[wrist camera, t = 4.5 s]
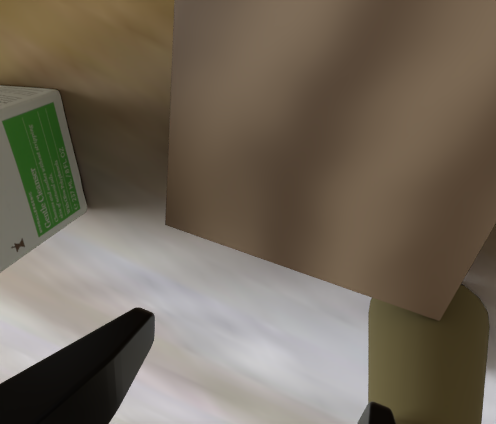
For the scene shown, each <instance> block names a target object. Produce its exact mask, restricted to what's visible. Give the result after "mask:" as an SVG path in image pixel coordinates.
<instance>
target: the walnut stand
mask: <svg viewBox="0 0 496 424" xmlns="http://www.w3.org/2000/svg"><path fill="white" fill-rule="evenodd" d="M495 224H496V0H175V5H174V29H173V53H172V77H171V101H170V125H169V149H168V173H167V197H166V221H165V225H167V226H170V227H173V228H176V229H179V230H182V231H184V232H187V233H190V234H193V235H196V236H199V237H201V238H204V239H207V240H210V241H213V242H216V243H219V244H221V245H224V246H227V247H230V248H233V249H236V250H238V251H241V252H244V253H247V254H250V255H253V256H255V257H258V258H261V259H264V260H267V261H270V262H273V263H275V264H278V265H281V266H284V267H287V268H290V269H292V270H295V271H298V272H301V273H304V274H307V275H310V276H312V277H315V278H318V279H321V280H324V281H327V282H329V283H332V284H335V285H338V286H341V287H344V288H347V289H349V290H352V291H355V292H358V293H361V294H364V295H366V296H369V297H372V298H375V299H378V300H381V301H383V302H386V303H389V304H392V305H395V306H398V307H401V308H403V309H406V310H409V311H412V312H415V313H418V314H420V315H423V316H426V317H429V318H432V319H435V320H438V321H440V319H441V318H442V316H443V314H444V312H445V311H446V309H447V307H448V305H449V304H450V302H451V300H452V299H453V297H454V295H455V293H456V292H457V290H458V288H459V286H460V285H461V283H462V281H463V279H464V278H465V276H466V274H467V272H468V271H469V269H470V267H471V265H472V264H473V262H474V260H475V258H476V257H477V255H478V253H479V251H480V250H481V248H482V246H483V245H484V243H485V241H486V239H487V238H488V236H489V234H490V232H491V231H492V229H493V227H494V225H495Z"/></svg>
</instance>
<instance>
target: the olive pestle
mask: <svg viewBox="0 0 496 424" xmlns="http://www.w3.org/2000/svg"><path fill="white" fill-rule="evenodd" d="M488 338H489V319H488V312H487V311H486V309H485V307H484V306H483V304H482V302H481V300H480V299H479V298H478V297H477V296H476V295H475V294H473V293H472V292H471V291H470V290H469V289H468V288H466V287H465V286H463V285H460V286H459V288H458V290H457V292H456V293H455V295H454V297H453V299H452V300H451V302H450V304H449V305H448V307H447V309H446V311H445V312H444V314H443V316H442V318H441V319H440V321H438V320H435V319H432V318H429V317H426V316H423V315H420V314H418V313H415V312H412V311H409V310H406V309H403V308H401V307H398V306H395V305H392V304H389V303H386V302H383V301H381V300H378V299H375V298H372V299H371V302H370V307H369V384H368V403H370V402H371V401H373V402H376V403H379V404H381V405H384V406H386V407H388V408H390V409H391V411H392V413H393V415H394V418H395V422H396V424H481V420H482V409H483V397H484V385H485V373H486V361H487V350H488Z"/></svg>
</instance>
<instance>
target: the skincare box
mask: <svg viewBox="0 0 496 424" xmlns="http://www.w3.org/2000/svg"><path fill="white" fill-rule="evenodd" d="M86 211H87V204H86V200H85V196H84V193H83V189H82V184H81V179H80V175H79V170H78V166H77V163H76V159H75V155H74V150H73V146H72V142H71V138H70V134H69V130H68V126H67V122H66V117H65V113H64V109H63V104H62V100H61V95H60V93H59V91H58V90H55V89H44V88H30V87H17V86H2V85H0V272H2V271H3V270H5V269H6V268H7V267H9V266H10V265H12V264H13V263H14V262H16V261H17V260H19V259H20V258H21V257H23V256H24V255H26V254H27V253H29V252H30V251H31V250H33V249H34V248H36V247H37V246H39V245H40V244H41V243H43V242H44V241H46V240H47V239H48V238H50V237H51V236H53V235H54V234H56V233H57V232H58V231H60V230H61V229H63V228H64V227H66V226H67V225H68V224H69V223H71V222H72V221H74V220H75V219H77V218H78V217H80V216H81V215H83V214H84V213H85V212H86Z"/></svg>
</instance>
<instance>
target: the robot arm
mask: <svg viewBox="0 0 496 424" xmlns="http://www.w3.org/2000/svg"><path fill="white" fill-rule="evenodd" d="M154 332H155V316H154V314H153V313H152V312H150V311H147V310H145V309H142V308H134V309H132V310H130V311H129V312H127V313H125V314H123V315H121V316H120V317H118V318H116V319H114V320H113V321H111V322H109V323H107V324H105V325H104V326H102V327H100V328H98V329H97V330H95V331H93V332H91V333H90V334H88V335H86V336H84V337H82V338H81V339H79V340H77V341H75V342H74V343H72V344H70V345H68V346H66V347H65V348H63V349H61V350H59V351H58V352H56V353H54V354H52V355H51V356H49V357H47V358H45V359H43V360H42V361H40V362H38V363H36V364H35V365H33V366H31V367H29V368H27V369H26V370H24V371H22V372H20V373H19V374H17V375H15V376H13V377H12V378H10V379H8V380H6V381H4V382H3V383H1V384H0V424H109V422H110V421H111V419H112V418H113V416H114V415H115V413H116V411H117V410H118V408H119V406H120V405H121V403H122V401H123V399H124V397H125V395H126V393H127V392H128V390H129V388H130V386H131V384H132V382H133V380H134V378H135V377H136V375H137V373H138V371H139V369H140V367H141V365H142V363H143V362H144V360H145V358H146V356H147V354H148V352H149V350H150V348H151V346H152V344H153V341H154ZM358 424H396V422H395V418H394V415H393V413H392V411H391V409H390V408H388V407H386V406H384V405H381V404H379V403H376V402H373V401H371V402H370V403H368V405H367V407H366V409H365V410H364V412H363V414H362V416H361V418H360V419H359V421H358Z"/></svg>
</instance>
